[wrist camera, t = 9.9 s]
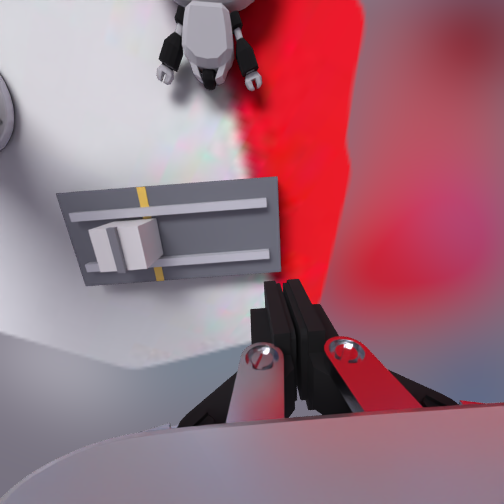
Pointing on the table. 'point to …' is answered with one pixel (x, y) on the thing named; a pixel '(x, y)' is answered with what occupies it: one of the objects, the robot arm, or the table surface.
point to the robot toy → (209, 43)
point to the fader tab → (126, 245)
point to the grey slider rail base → (184, 228)
